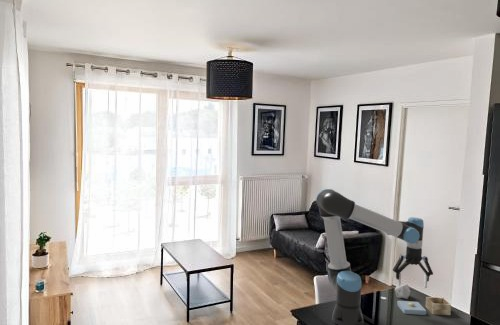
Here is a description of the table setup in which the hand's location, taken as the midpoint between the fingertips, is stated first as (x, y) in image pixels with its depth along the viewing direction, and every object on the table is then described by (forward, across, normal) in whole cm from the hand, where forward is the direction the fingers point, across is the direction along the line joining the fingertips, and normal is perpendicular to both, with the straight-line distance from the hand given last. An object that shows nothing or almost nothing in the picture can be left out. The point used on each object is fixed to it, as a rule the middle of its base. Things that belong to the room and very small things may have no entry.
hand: (411, 286), depth 194 cm
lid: (+13, 0, 0) cm, 13 cm away
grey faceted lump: (+14, +2, +17) cm, 22 cm away
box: (+13, +14, 0) cm, 20 cm away
